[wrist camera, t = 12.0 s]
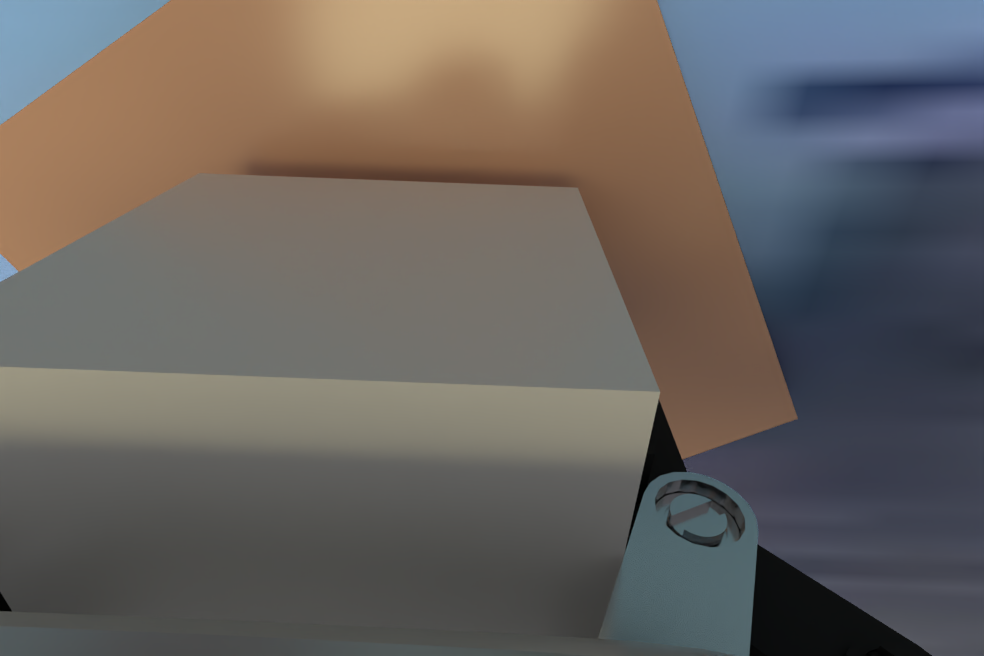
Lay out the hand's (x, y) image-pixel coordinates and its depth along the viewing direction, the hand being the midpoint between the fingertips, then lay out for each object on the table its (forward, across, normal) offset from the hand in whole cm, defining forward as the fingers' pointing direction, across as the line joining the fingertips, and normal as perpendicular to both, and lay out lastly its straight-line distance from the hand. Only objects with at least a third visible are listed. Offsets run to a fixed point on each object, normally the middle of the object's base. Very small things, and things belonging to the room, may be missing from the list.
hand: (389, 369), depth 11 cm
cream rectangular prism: (+1, 0, 0) cm, 1 cm away
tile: (+3, 0, 0) cm, 3 cm away
